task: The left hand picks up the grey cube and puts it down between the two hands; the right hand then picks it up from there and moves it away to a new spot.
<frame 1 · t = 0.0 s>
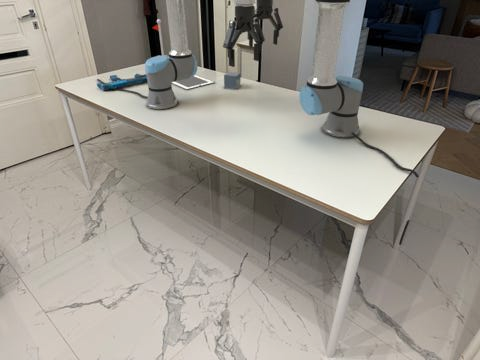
left hand: (244, 63, 139), 28 cm above the table, tool pointing down, fingers open, 13 cm apart
right hand: (263, 45, 167), 28 cm above the table, tool pointing down, fingers open, 13 cm apart
grey cube: (232, 87, 201), on the table
flag stand: (164, 65, 243), on the table
tablet: (186, 80, 213), on the table
submachine gun: (125, 82, 209), on the table
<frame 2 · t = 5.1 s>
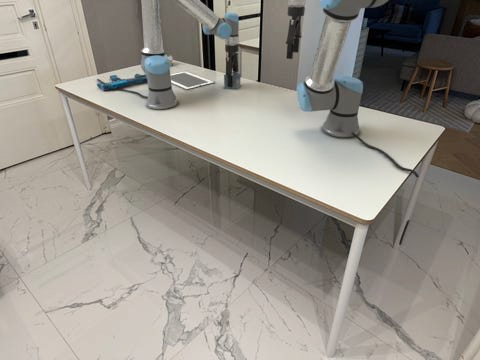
left hand: (232, 84, 201), 1 cm above the table, tool pointing down, fingers closed on grey cube, 7 cm apart
right hand: (292, 55, 163), 25 cm above the table, tool pointing down, fingers open, 13 cm apart
grey cube: (232, 87, 201), on the table, touching left hand
everything else where it was.
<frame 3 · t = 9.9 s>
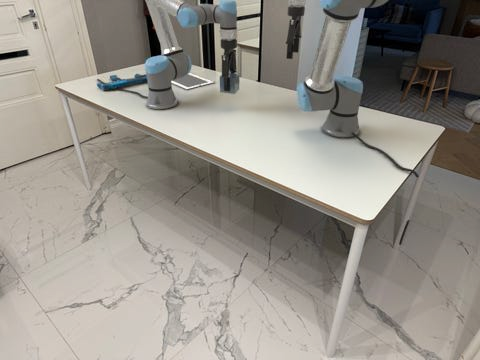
left hand: (229, 88, 166), 11 cm above the table, tool pointing down, fingers closed on grey cube, 7 cm apart
right hand: (292, 55, 163), 25 cm above the table, tool pointing down, fingers open, 13 cm apart
grey cube: (229, 91, 167), point 9 cm above the table, touching left hand
everything else where it was.
when the left hand's fingers open (3 cm above the table, at t = 14.6 s): grey cube drops 1 cm, on the table.
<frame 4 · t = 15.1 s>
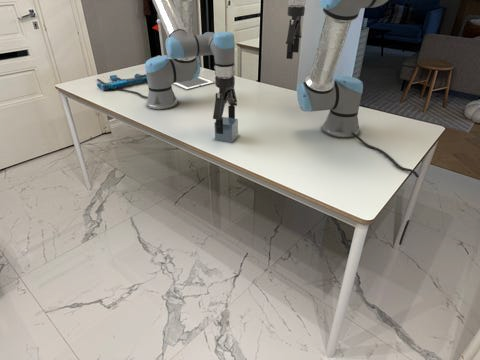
left hand: (225, 126, 142), 5 cm above the table, tool pointing down, fingers open, 13 cm apart
right hand: (292, 55, 163), 25 cm above the table, tool pointing down, fingers open, 13 cm apart
grey cube: (226, 137, 144), on the table
everything else where it was.
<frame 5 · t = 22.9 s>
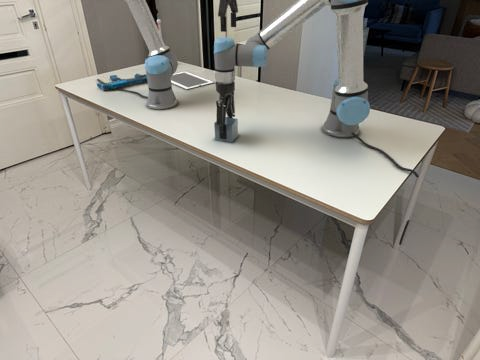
left hand: (228, 29, 168), 35 cm above the table, tool pointing down, fingers open, 13 cm apart
right hand: (226, 134, 144), 1 cm above the table, tool pointing down, fingers closed on grey cube, 7 cm apart
grey cube: (226, 137, 144), on the table, touching right hand
everything else where it was.
when the right hand's fingers open (3 cm above the table, at t = 30.6 s): grey cube drops 1 cm, on the table.
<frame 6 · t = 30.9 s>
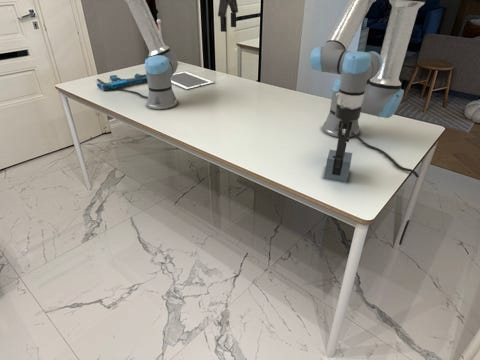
left hand: (228, 29, 168), 35 cm above the table, tool pointing down, fingers open, 13 cm apart
right hand: (337, 166, 117), 4 cm above the table, tool pointing down, fingers open, 10 cm apart
grey cube: (336, 174, 119), on the table
everything else where it was.
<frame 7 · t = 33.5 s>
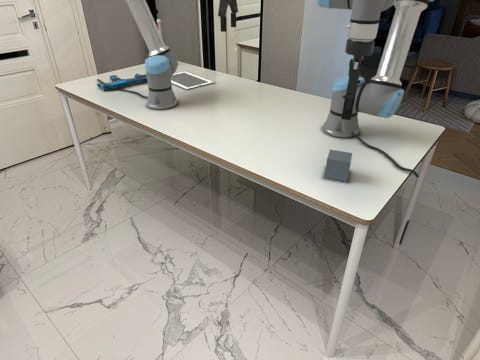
left hand: (228, 29, 168), 35 cm above the table, tool pointing down, fingers open, 13 cm apart
right hand: (347, 111, 106), 24 cm above the table, tool pointing down, fingers open, 13 cm apart
nothing on the table moved.
at the end: grey cube inside the target area (0.1 cm from its centre), on the table; grey cube tilted 0°; the two hands never held the grey cube at the same time; the left hand is holding nothing; the right hand is holding nothing; grey cube at rest at the end (0.0 cm/s) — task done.
